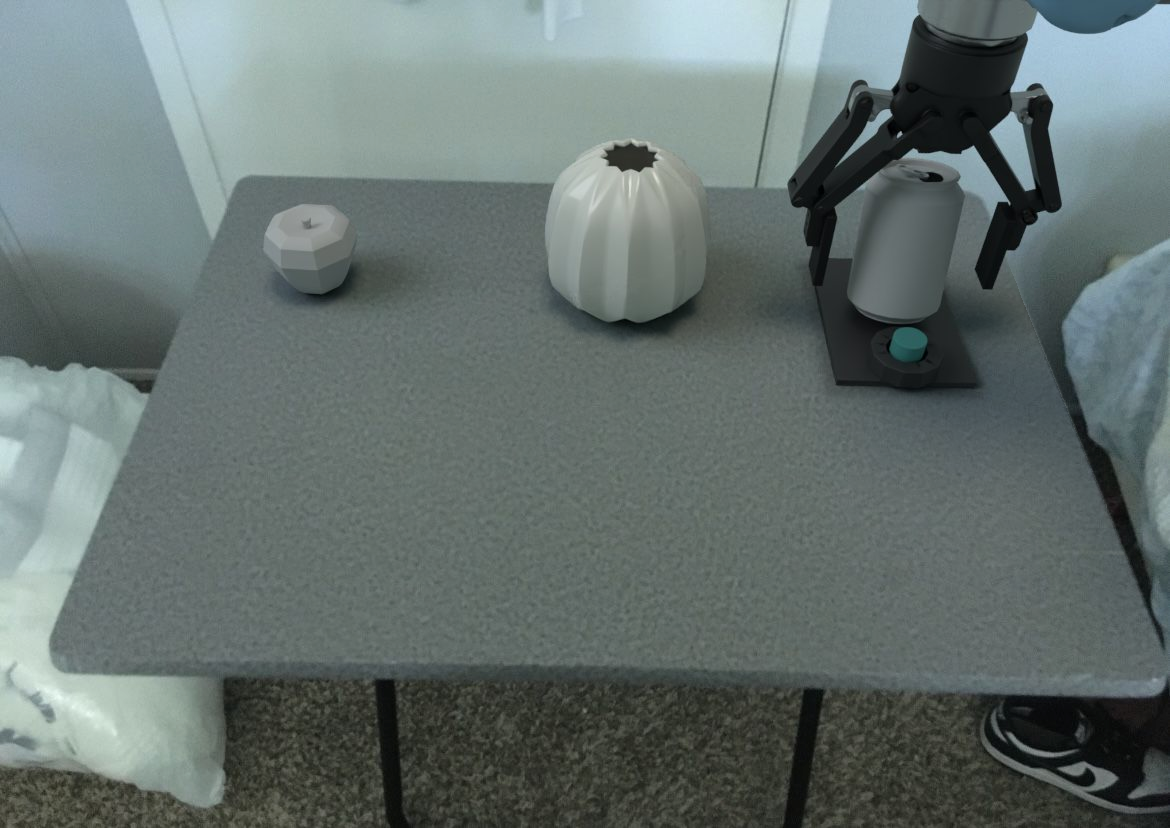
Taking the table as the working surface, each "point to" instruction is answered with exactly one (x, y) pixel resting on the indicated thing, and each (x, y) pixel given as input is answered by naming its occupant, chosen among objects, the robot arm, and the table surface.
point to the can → (905, 240)
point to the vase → (628, 231)
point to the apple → (311, 246)
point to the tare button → (908, 345)
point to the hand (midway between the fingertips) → (899, 278)
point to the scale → (887, 341)
